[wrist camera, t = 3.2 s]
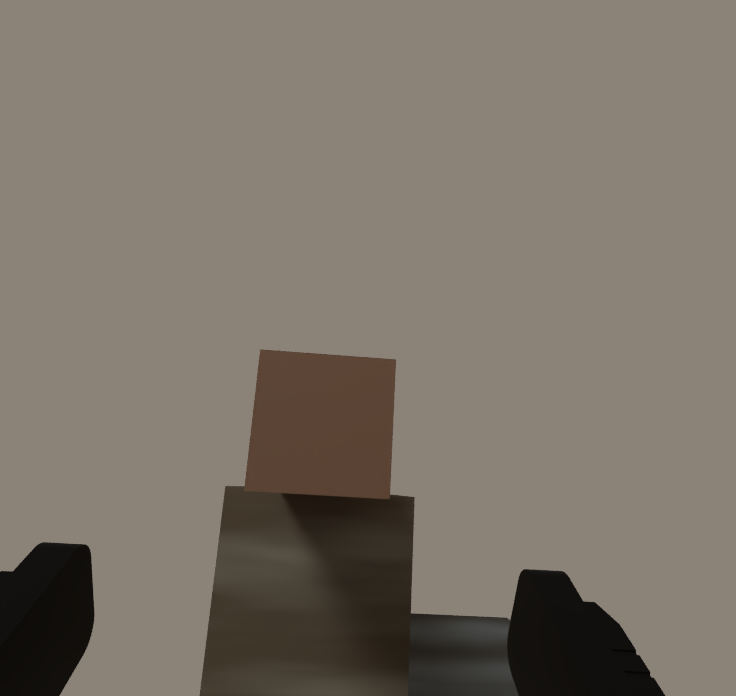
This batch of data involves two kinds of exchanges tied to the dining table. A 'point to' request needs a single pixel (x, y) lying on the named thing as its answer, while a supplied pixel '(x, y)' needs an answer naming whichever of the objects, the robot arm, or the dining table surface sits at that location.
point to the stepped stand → (335, 606)
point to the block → (322, 425)
